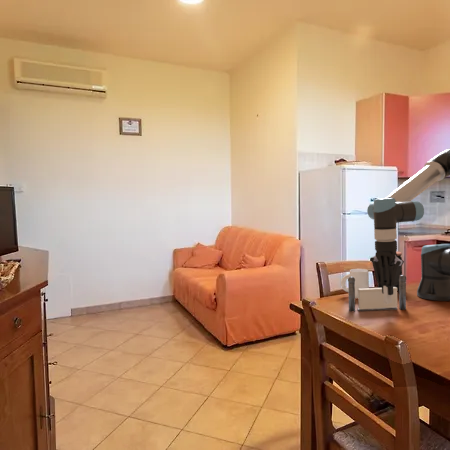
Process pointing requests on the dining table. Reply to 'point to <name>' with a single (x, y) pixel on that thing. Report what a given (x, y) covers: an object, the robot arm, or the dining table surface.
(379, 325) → the dining table surface
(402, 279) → the posts and sill
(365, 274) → the mug
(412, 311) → the dining table surface
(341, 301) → the dining table surface
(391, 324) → the dining table surface
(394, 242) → the robot arm
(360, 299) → the gate
